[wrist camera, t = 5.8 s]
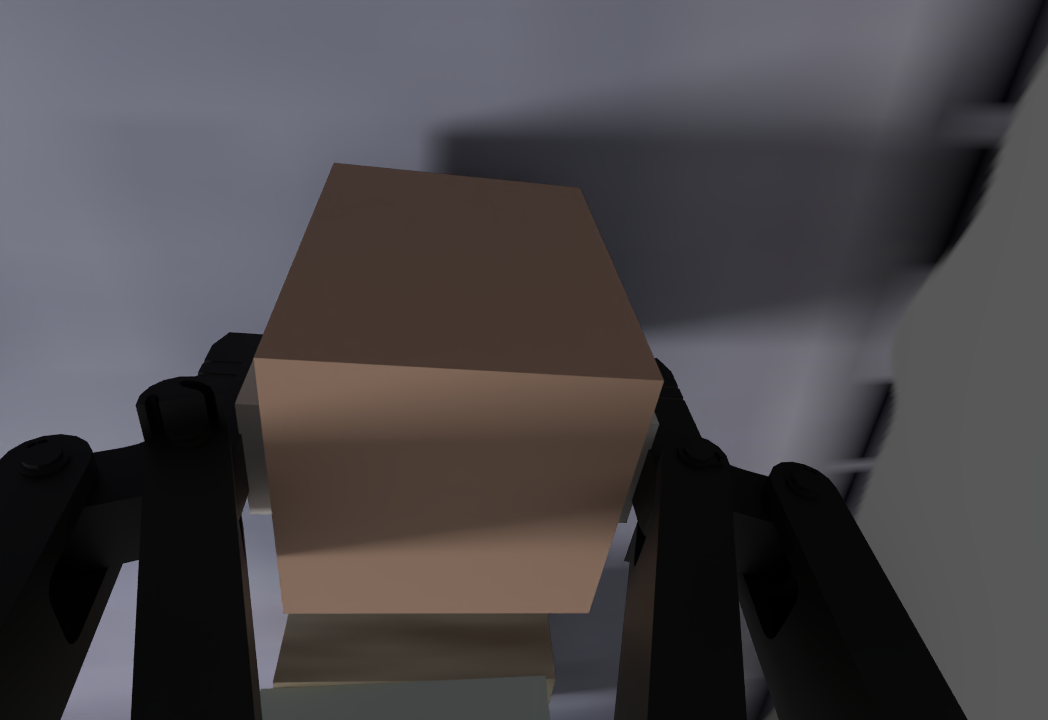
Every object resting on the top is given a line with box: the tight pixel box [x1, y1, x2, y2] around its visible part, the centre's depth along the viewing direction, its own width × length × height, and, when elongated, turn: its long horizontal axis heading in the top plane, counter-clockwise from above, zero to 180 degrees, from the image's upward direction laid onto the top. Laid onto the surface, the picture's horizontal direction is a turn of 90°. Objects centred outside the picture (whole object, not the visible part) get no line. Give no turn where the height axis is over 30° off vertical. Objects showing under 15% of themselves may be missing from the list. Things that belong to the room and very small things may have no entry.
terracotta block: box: [254, 163, 664, 614], centre depth 15 cm, size 6×6×8 cm
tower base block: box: [273, 613, 556, 703], centre depth 28 cm, size 10×10×5 cm
